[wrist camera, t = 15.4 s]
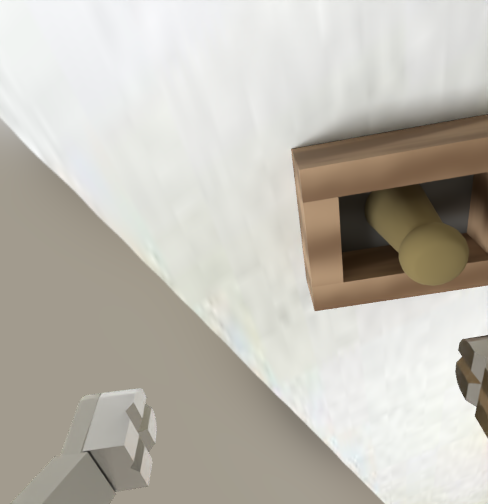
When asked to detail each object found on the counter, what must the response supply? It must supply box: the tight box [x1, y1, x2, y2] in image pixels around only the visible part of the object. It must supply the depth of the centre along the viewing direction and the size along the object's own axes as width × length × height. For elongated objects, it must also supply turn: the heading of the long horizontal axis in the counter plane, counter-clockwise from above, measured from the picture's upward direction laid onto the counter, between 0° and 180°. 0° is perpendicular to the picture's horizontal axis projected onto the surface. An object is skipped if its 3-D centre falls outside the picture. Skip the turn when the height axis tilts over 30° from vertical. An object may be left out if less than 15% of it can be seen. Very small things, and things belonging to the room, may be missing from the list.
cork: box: [364, 184, 469, 286], centre depth 37 cm, size 6×6×11 cm
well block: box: [291, 114, 488, 311], centre depth 39 cm, size 15×20×6 cm
